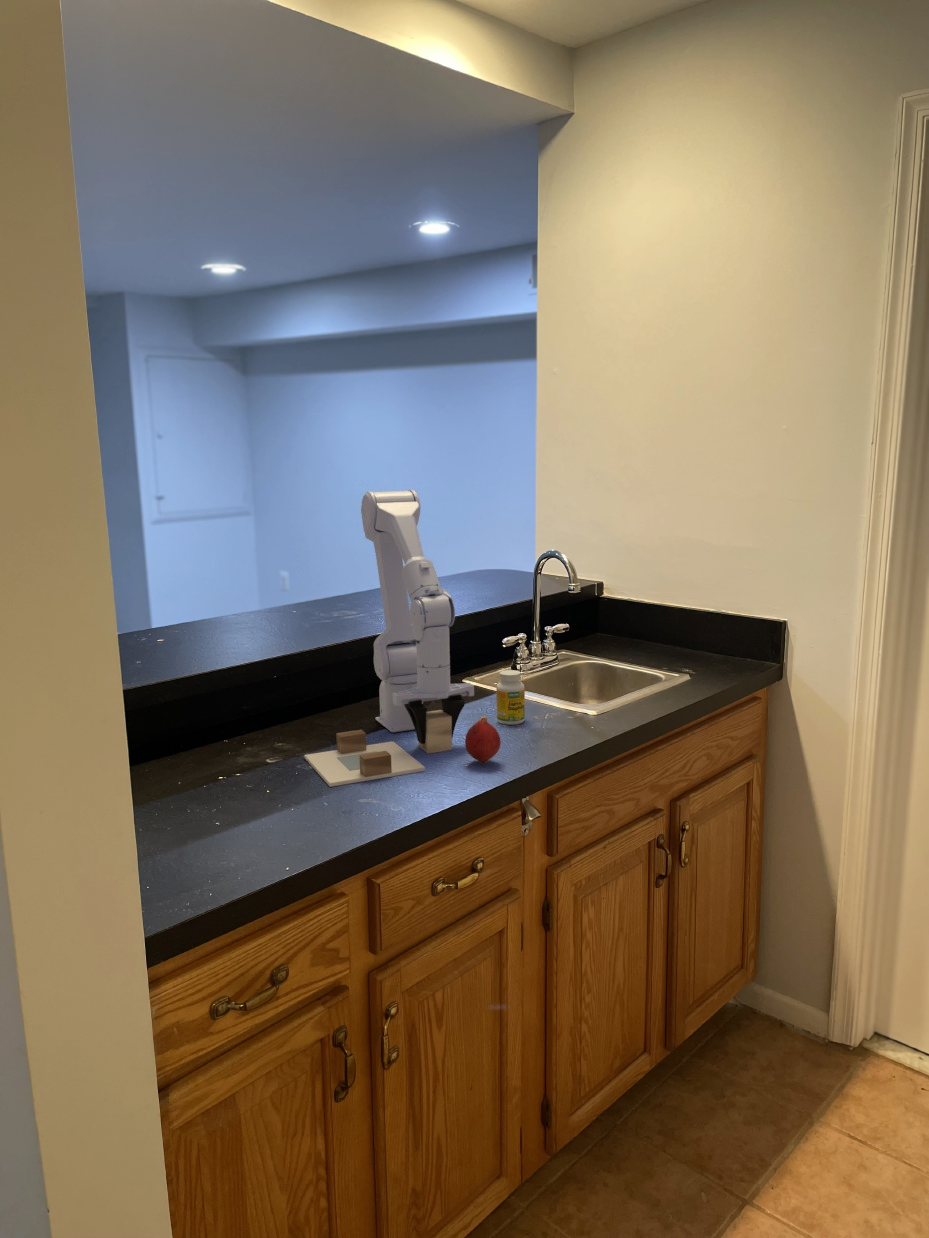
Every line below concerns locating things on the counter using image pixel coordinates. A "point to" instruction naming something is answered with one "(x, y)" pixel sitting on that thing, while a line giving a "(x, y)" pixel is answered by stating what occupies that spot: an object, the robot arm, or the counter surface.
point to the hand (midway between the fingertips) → (435, 739)
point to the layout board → (347, 765)
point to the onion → (482, 741)
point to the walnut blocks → (368, 762)
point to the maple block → (437, 732)
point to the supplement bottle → (510, 698)
